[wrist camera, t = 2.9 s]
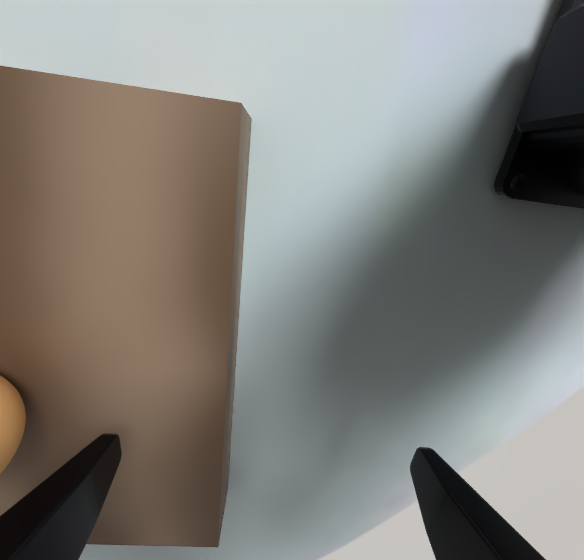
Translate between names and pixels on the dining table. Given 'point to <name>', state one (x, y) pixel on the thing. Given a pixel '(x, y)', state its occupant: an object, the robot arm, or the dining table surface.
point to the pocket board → (123, 293)
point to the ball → (10, 421)
